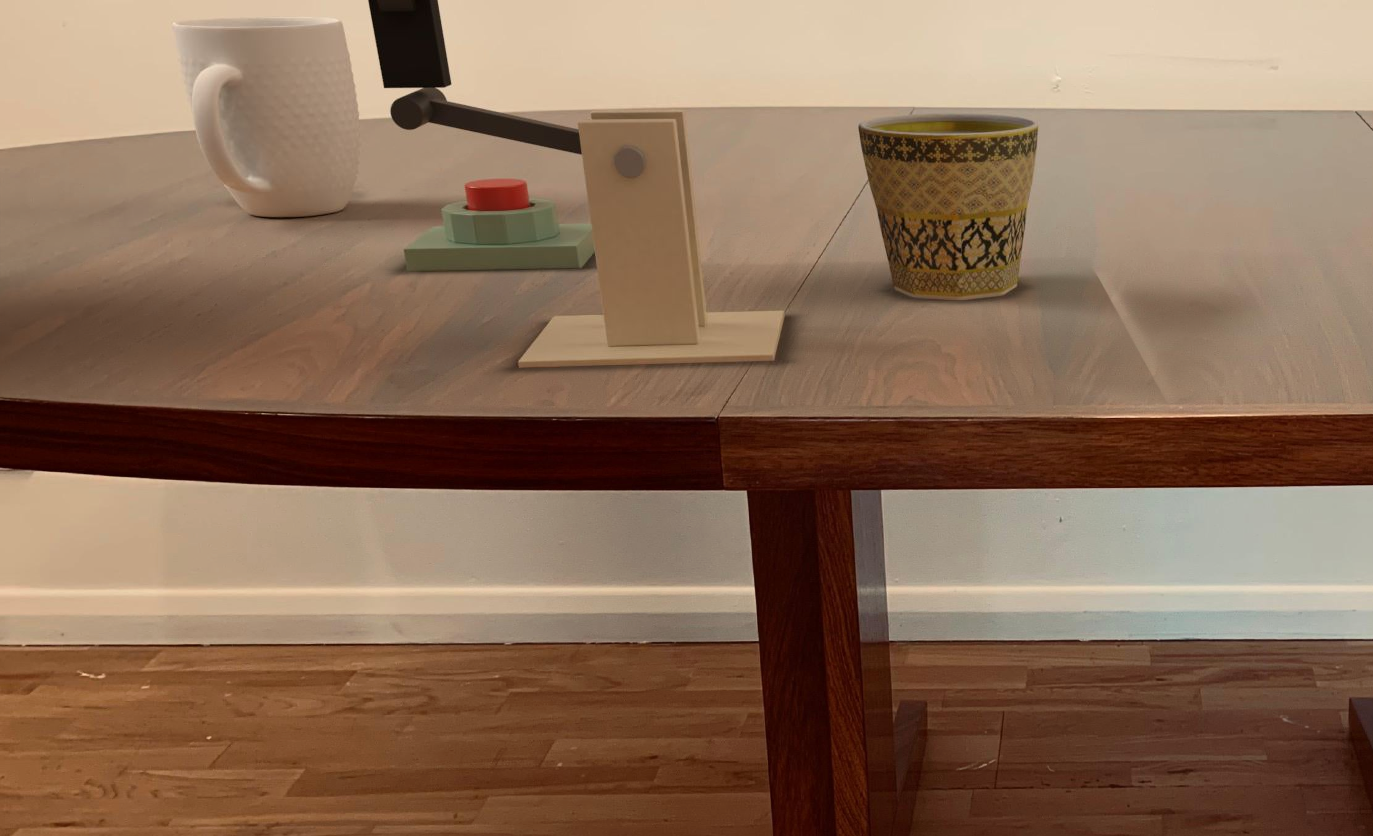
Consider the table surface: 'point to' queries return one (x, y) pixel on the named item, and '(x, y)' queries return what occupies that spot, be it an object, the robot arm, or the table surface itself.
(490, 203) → the button
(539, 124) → the lever
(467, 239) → the button box
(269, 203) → the mug
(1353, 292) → the table surface
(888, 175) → the ceramic cup
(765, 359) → the bracket
